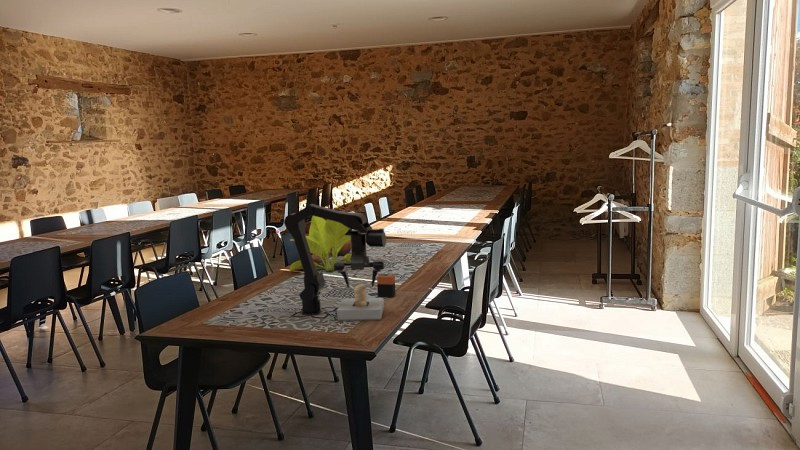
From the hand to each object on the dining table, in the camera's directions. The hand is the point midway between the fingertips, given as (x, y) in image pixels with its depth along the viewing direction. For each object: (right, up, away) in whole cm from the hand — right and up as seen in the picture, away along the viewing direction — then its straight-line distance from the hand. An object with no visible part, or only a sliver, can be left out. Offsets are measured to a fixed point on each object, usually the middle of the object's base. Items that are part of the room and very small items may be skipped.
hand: (360, 287), depth 235 cm
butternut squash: (-19, +6, +121) cm, 123 cm away
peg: (0, -10, +2) cm, 10 cm away
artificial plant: (-22, +1, +86) cm, 89 cm away
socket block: (0, -10, +2) cm, 11 cm away
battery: (+9, -7, +27) cm, 29 cm away
